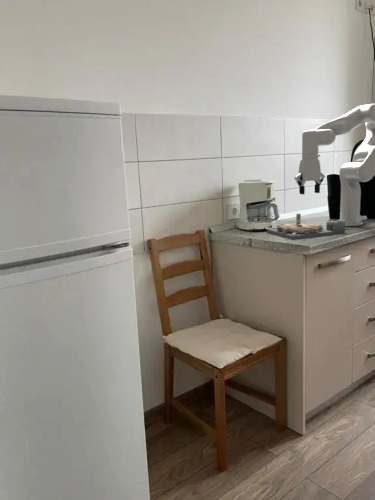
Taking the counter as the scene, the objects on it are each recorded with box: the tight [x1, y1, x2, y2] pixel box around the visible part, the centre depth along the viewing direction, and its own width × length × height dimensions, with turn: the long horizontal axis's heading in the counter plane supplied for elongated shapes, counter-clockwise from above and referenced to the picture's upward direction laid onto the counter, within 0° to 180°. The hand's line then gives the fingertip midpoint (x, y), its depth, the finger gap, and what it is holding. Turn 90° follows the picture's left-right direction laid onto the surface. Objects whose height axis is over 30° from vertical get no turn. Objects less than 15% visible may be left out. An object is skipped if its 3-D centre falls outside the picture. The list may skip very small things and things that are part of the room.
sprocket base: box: [266, 227, 335, 240], centre depth 204 cm, size 22×22×2 cm
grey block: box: [326, 219, 346, 234], centre depth 203 cm, size 4×7×6 cm, turn 110°
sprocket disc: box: [276, 213, 324, 234], centre depth 203 cm, size 21×21×7 cm
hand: (309, 193), depth 210 cm, fingers open, 8 cm apart
